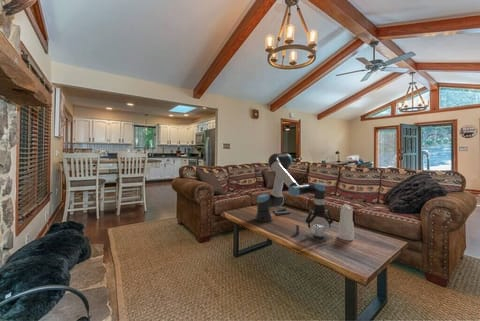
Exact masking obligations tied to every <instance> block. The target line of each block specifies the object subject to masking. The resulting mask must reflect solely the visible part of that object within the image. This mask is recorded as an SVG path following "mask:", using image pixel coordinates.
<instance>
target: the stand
mask: <svg viewBox="0 0 480 321" xmlns="http://www.w3.org/2000/svg"><path fill="white" fill-rule="evenodd" d="M293 235H294V236H296V237H297V236H298V237H299V236H302V233H301V232H300V225H299V224H295V232H294V233H293Z"/></svg>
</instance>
